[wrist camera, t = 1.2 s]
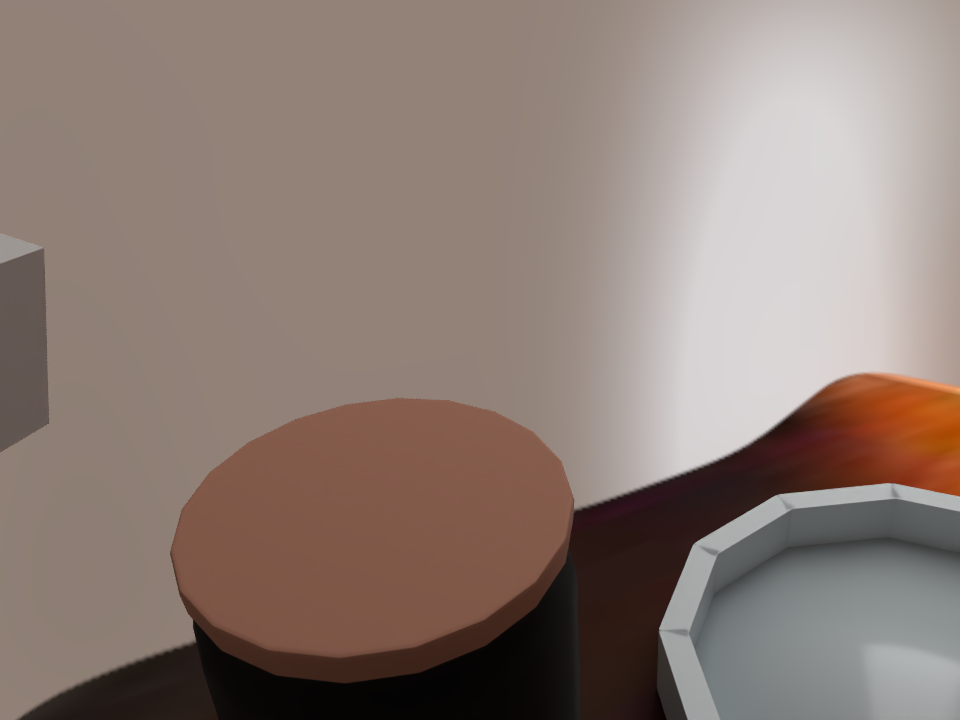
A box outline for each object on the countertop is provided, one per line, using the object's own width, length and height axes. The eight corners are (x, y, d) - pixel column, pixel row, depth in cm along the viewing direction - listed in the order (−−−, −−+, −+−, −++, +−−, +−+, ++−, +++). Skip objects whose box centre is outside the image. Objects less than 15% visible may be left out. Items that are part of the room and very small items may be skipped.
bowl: (1030, 520, 47) (1046, 467, 46) (1451, 967, 28) (1506, 904, 27) (619, 563, 47) (619, 510, 45) (765, 1048, 28) (775, 989, 26)
